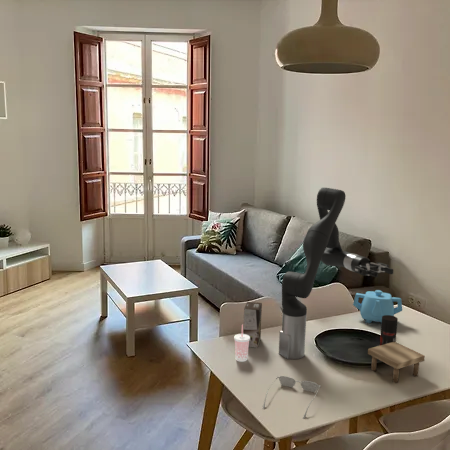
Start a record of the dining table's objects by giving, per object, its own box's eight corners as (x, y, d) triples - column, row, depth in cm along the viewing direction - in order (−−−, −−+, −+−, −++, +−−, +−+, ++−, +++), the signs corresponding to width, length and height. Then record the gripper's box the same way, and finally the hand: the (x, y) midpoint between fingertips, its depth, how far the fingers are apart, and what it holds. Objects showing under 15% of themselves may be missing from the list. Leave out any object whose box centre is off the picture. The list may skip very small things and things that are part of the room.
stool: (395, 385, 186) (397, 363, 185) (366, 368, 198) (368, 348, 197) (422, 376, 193) (424, 355, 192) (393, 360, 205) (394, 341, 204)
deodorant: (392, 358, 208) (395, 321, 205) (377, 354, 211) (380, 318, 208) (396, 352, 213) (399, 317, 210) (381, 349, 216) (384, 314, 213)
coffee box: (258, 347, 215) (259, 309, 211) (242, 346, 216) (243, 308, 213) (261, 338, 223) (262, 302, 220) (246, 337, 225) (247, 301, 221)
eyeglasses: (320, 394, 180) (320, 383, 179) (306, 421, 164) (307, 409, 163) (276, 384, 186) (277, 374, 185) (259, 410, 169) (260, 398, 169)
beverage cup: (252, 360, 203) (253, 325, 201) (238, 363, 200) (239, 328, 197) (243, 354, 208) (244, 320, 206) (230, 357, 205) (231, 323, 203)
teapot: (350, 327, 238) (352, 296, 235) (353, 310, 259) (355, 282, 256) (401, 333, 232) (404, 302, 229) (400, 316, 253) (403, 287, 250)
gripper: (344, 257, 224) (372, 266, 210) (369, 253, 231) (398, 262, 217) (343, 274, 225) (371, 285, 212) (368, 269, 232) (397, 279, 218)
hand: (385, 273), depth 214 cm, fingers open, 8 cm apart
